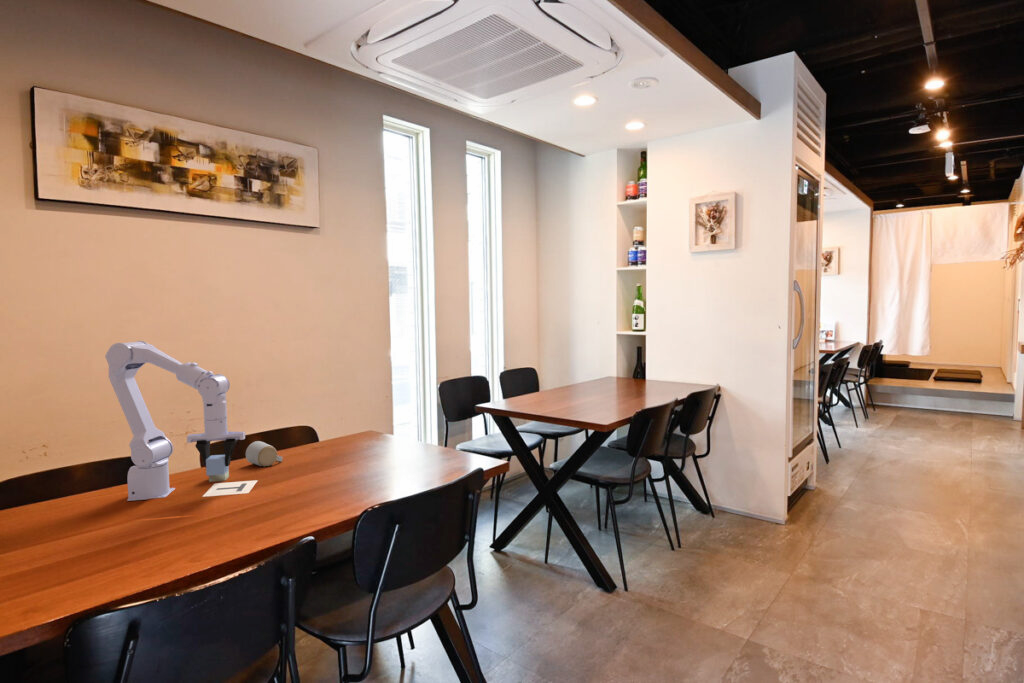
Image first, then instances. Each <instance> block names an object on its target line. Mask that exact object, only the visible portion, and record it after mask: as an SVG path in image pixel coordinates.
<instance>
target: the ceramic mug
mask: <svg viewBox="0 0 1024 683" xmlns="http://www.w3.org/2000/svg"><path fill="white" fill-rule="evenodd" d="M245 458H246V460H247V461H248V463H250V464H253V465H255V466H259V467H262V466H263V468H265V467H266V466H267V467H270V466H272V465H273V464H274V463H275V462H276V461H277V462H282V461H283V459H284V457H283V456H280V455H278V451H277V449H276V448H275V447H274V446H273V445H270V444H268V443H266V442H264V441H260V440H256V441H253V442H251V443H250V444H249V445H248V446H247V448H246V450H245ZM267 467H266V468H267Z"/></svg>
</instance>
